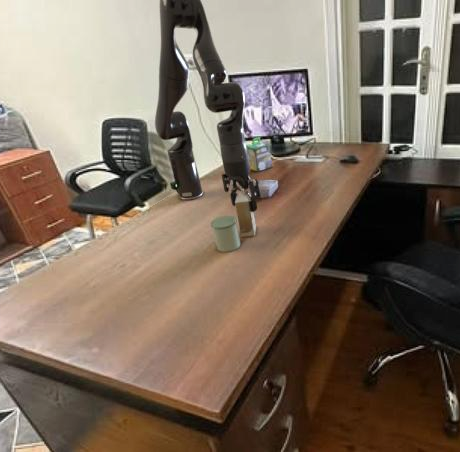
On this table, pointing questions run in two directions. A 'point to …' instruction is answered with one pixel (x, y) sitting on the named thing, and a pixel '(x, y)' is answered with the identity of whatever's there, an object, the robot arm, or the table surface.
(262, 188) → the stone block
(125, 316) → the table surface
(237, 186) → the robot arm
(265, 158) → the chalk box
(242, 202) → the cosmetic box
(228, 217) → the canister
